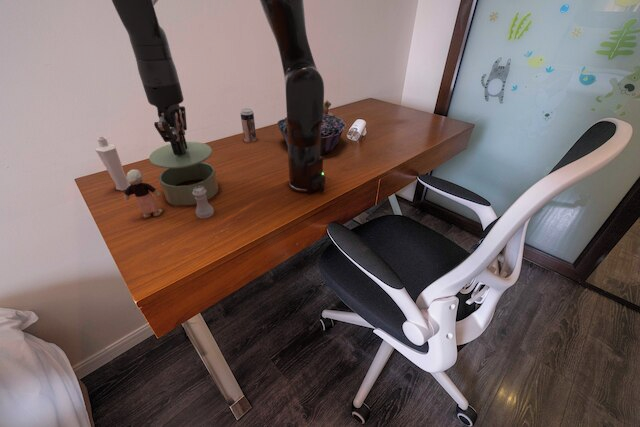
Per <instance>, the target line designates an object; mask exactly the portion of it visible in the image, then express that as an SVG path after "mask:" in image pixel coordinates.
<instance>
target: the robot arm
mask: <svg viewBox="0 0 640 427" xmlns="http://www.w3.org/2000/svg"><path fill="white" fill-rule="evenodd" d="M158 1H159V0H111V2H112V4H113V7H114V9H115V11H116V13H117V15H118V16H119V19H120V21H121V23H122V26H123V27H124V29H125V30H126V32H127V35H128V38H129V42H130V45H131V48H132V51H133V55H134V58H135V62H136V66H137V71H138V75H139V78H140V81H141V84H142V86H143V90H144V93H145V97H146V99H147V103H149V105H151V106H154V107H155V108H156V111H157V117H158V121H155V122H154V124H153V125H154V128H155V129H156V131H157V132H158V134H159V136H160V137H161V138H162V140H163V142H164V143H169V144H171V146H172V149H173V153H174V155H182V154H183V149H182V145H181V142H180V139H179V134H181V135H182V137H183V141H184V144H185V148H186V149H187V148H188V147H187V143H186V142H187V140H186V136H185V135H186V131H187V129H188V127H187V126H188V125H187V113H186V107H185V106H184V105H182V106H181V105H180V104H182V103H183V102H184V100H185V99H184V95H183V91H182V87H181V83H180V79H179V75H178V71H177V68H176V67H177V66H176V65H175V62H174V60H173V57H172V56H173V55H172V52H171V48H170V44H169V41H168V37H167V35H166V32H165V30H164V29H163V28H162V27H161V25H160V23H159V20H158V16H157V14H156V9H155V5H156V4H157V3H158ZM259 4H260V5H261V7H262V11H263V14H264V16H265V18H266V21H267V23H268V26H269V28H270V30H271V32H272V35H273V37H274V39H275V42H276V45H277V48H278V52H279V57H280V61H281V62H280V63H281V66H282V71H283V72H282V73H283V78H284V87H285V106H286V108H285V110H286V117H287V139H288V146H287V158H288V161H287V162H288V163H287V164H288V186H289V188H290V189H291V190H293V191H295V192H298V193H307V194H311V193H313V192H315V191H316V190H319V188H321V189H320V193H324V192H325V190H326V186H325V184H326V176H325V175H324V172H323V170H324V156H321V154H320V148H321V125H322V121H323V107H324V102H325V82H324V80H323V77H322V75H321V73H320V71H319V70H318V68H317V65H316V62H315V60H314V56H313V54H312V50H311V47H310V44H309V39H308V34H307V28H306V17H305V15H306V14H305V6H304V5H305V4H304V0H259ZM174 134H175V135H174Z"/></svg>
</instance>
